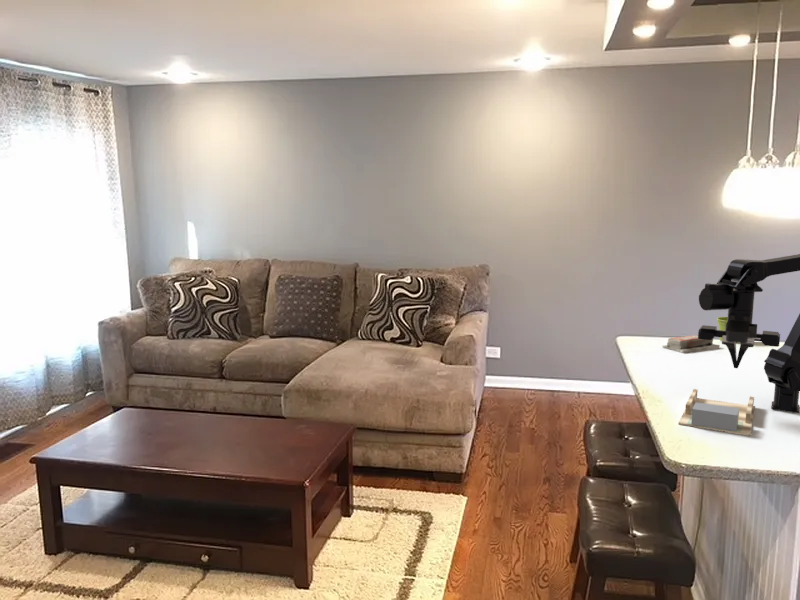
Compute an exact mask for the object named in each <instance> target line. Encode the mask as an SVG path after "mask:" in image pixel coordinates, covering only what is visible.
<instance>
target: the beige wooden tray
mask: <svg viewBox="0 0 800 600" xmlns="http://www.w3.org/2000/svg"><path fill="white" fill-rule="evenodd" d="M698 390H699V389H697V388H693V389H692V391H691V394H690V395H689V398H688V399H687V402H686V403H685V409H684V411H683V413H682V415H681V417H680V420H678V424H680V426H685V425H688V426H687V427H691V426H694V427H693V428H697V427H699V428H698V429H704V428H707V429H706V430H710V429H713V430H712V431H717V430H719V431H718V432H723V431H725V432H724V433H729V432H731V434H737V435H742V434H743V435H744V436H748V435H749V436H751V433H752V432H751V431H752V428H753V421H754V417H755V411H756V405H754V402H755V397H754V396H752V395H750V396H749V399H748V403H747V404H744V403H735V402H728V401H721V400H712V399H706V398H698V393H699V391H698ZM695 402H697V403H705V404H712V405H719V406H726V407H733V408H739V418H738V426H737V430H736V431H731V430H724V429H718V428H711V427H705V426H698V425H692V424H691V423H692V409H693V407H694V405H695ZM749 436H748V437H749Z"/></svg>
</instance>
